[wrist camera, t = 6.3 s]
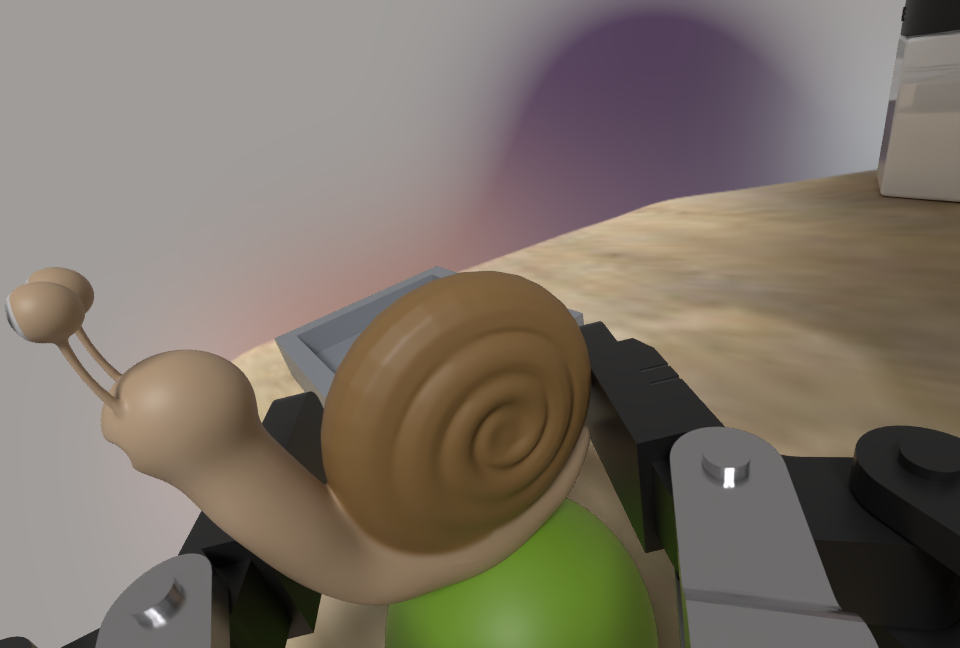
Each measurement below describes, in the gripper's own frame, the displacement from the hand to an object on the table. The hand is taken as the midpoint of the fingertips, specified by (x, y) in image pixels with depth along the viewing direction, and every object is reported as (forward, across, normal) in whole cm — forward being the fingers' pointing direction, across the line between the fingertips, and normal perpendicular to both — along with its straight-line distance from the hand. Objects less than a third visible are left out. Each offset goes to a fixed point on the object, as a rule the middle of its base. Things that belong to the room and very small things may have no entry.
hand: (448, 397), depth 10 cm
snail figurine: (-3, 0, +7) cm, 8 cm away
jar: (+21, -34, +7) cm, 40 cm away
